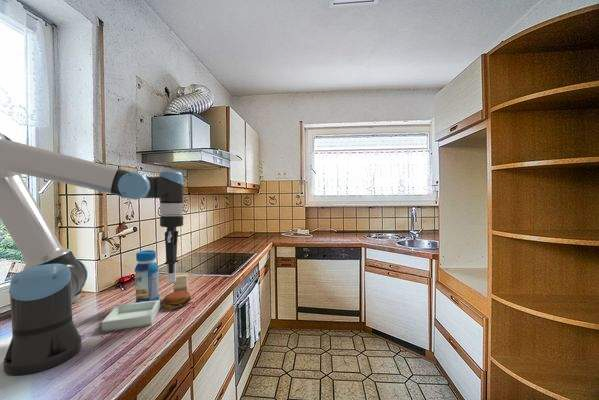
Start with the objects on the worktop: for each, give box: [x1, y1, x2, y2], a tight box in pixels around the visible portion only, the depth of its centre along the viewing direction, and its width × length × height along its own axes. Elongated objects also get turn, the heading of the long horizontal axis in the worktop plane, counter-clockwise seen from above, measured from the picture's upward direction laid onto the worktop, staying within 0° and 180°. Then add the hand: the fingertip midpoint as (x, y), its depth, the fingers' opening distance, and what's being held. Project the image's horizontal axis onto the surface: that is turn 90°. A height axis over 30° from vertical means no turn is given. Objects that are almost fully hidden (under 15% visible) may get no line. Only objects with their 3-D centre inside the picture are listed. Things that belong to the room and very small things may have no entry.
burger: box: [162, 290, 192, 310], centre depth 106 cm, size 10×9×5 cm
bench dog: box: [172, 271, 189, 292], centre depth 115 cm, size 5×5×9 cm
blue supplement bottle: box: [134, 249, 160, 303], centre depth 109 cm, size 8×8×20 cm
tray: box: [101, 299, 161, 333], centre depth 95 cm, size 14×14×3 cm
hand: (171, 281), depth 98 cm, fingers closed
